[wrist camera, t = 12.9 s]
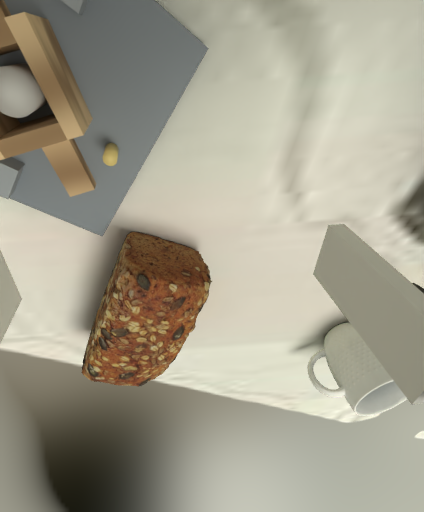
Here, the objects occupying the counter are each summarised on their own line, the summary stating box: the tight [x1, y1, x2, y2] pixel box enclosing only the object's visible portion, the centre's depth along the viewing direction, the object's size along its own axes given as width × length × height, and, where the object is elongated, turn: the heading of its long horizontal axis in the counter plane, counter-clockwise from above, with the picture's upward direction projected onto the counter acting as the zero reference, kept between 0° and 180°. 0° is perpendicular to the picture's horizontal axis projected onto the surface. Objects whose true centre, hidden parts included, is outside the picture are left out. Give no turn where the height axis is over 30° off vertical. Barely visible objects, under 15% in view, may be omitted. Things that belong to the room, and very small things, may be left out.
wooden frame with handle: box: [0, 0, 96, 197], centre depth 21 cm, size 18×7×6 cm, turn 13°
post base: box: [0, 0, 208, 236], centre depth 22 cm, size 21×21×6 cm
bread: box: [82, 232, 212, 386], centre depth 36 cm, size 19×11×10 cm, turn 153°
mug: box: [308, 323, 407, 416], centre depth 51 cm, size 15×11×13 cm
